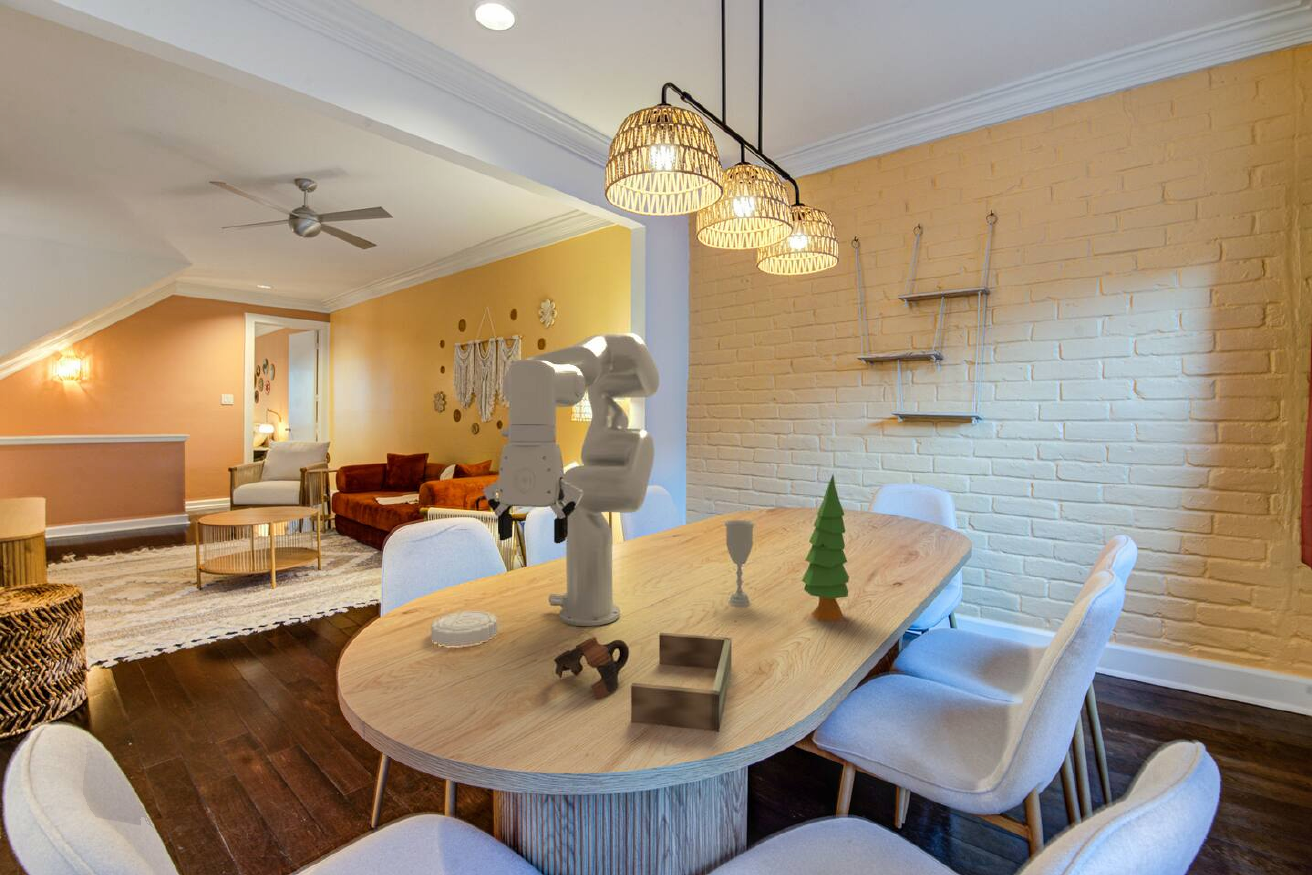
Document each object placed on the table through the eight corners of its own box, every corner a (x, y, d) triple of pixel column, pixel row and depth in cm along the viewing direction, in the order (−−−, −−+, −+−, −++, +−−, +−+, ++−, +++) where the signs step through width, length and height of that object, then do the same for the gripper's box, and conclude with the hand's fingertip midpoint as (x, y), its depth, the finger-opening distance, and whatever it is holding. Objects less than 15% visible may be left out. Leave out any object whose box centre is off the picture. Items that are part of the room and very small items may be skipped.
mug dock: (631, 721, 80) (631, 685, 80) (660, 661, 99) (660, 632, 99) (719, 731, 77) (719, 694, 77) (731, 667, 97) (731, 637, 97)
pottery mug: (582, 711, 84) (558, 657, 85) (563, 713, 91) (541, 664, 93) (648, 669, 90) (625, 620, 92) (625, 675, 98) (603, 629, 100)
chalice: (754, 609, 126) (754, 526, 125) (722, 607, 127) (722, 525, 127) (755, 598, 133) (755, 520, 132) (725, 597, 134) (725, 519, 134)
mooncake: (490, 648, 106) (490, 629, 106) (422, 650, 105) (422, 631, 105) (502, 625, 118) (502, 607, 118) (441, 626, 117) (441, 609, 117)
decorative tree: (847, 626, 115) (848, 475, 114) (798, 621, 119) (799, 474, 118) (849, 611, 124) (850, 471, 123) (804, 606, 128) (804, 470, 127)
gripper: (472, 436, 94) (472, 542, 94) (573, 436, 90) (573, 547, 90) (496, 435, 101) (496, 534, 101) (590, 436, 97) (590, 538, 97)
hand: (532, 540), depth 96 cm, fingers open, 9 cm apart
